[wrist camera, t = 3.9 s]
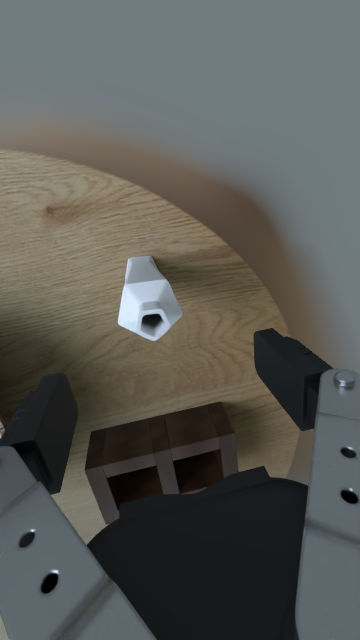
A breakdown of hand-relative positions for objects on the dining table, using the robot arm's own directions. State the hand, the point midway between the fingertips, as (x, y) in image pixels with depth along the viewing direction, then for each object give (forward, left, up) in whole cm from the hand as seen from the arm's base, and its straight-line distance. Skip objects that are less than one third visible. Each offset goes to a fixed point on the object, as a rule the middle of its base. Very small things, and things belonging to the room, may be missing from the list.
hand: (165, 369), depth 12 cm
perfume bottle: (0, 0, -21) cm, 21 cm away
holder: (+2, +25, -21) cm, 33 cm away
